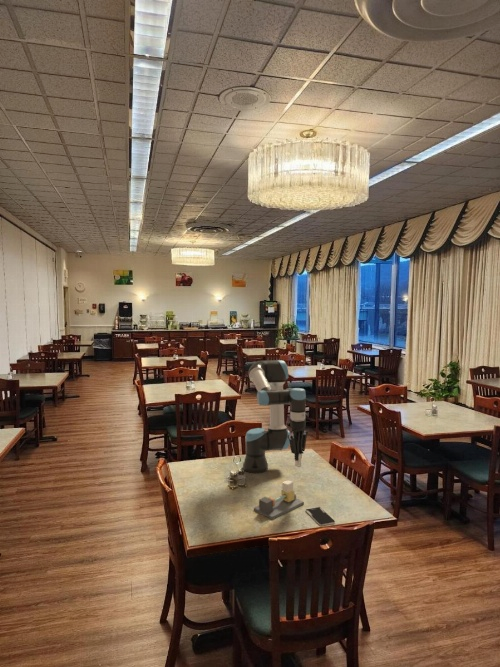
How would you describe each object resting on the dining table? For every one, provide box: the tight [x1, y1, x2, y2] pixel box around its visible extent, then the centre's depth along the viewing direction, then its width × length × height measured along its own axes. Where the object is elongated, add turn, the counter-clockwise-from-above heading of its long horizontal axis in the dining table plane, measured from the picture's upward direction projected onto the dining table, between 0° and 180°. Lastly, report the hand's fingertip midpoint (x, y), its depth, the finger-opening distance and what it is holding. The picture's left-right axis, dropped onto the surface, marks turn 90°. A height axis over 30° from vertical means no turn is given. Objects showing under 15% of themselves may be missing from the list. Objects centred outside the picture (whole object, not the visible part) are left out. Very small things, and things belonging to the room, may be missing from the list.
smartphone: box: [305, 506, 336, 527], centre depth 188 cm, size 8×1×15 cm
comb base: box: [253, 490, 305, 520], centre depth 198 cm, size 12×22×6 cm, turn 132°
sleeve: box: [281, 479, 295, 502], centre depth 201 cm, size 5×4×9 cm
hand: (298, 466), depth 206 cm, fingers closed
